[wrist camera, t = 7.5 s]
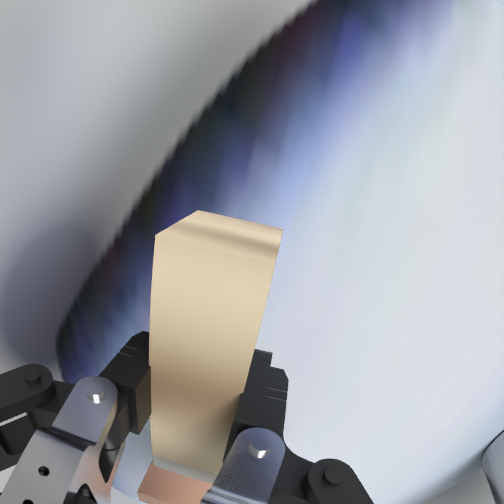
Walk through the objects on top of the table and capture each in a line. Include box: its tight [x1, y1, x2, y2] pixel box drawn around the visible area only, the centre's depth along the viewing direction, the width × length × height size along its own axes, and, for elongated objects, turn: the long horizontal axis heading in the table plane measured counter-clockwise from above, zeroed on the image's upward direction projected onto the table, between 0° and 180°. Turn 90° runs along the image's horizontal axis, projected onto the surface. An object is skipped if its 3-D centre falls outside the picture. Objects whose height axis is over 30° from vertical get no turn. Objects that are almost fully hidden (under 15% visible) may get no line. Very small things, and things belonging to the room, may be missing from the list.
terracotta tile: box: [137, 460, 212, 504], centre depth 17 cm, size 2×6×8 cm, turn 80°
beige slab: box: [149, 210, 283, 484], centre depth 11 cm, size 15×5×3 cm, turn 169°
